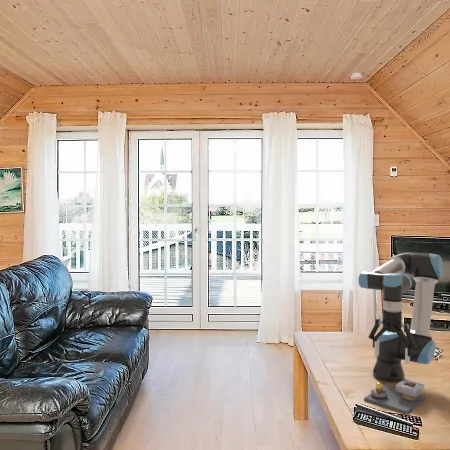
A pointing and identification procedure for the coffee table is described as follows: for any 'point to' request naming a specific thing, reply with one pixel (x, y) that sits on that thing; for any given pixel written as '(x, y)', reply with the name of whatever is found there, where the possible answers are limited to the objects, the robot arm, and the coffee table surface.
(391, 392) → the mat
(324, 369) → the coffee table surface
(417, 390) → the square hole frame
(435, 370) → the coffee table surface
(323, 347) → the coffee table surface
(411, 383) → the stand
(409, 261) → the robot arm
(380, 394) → the cylinder
